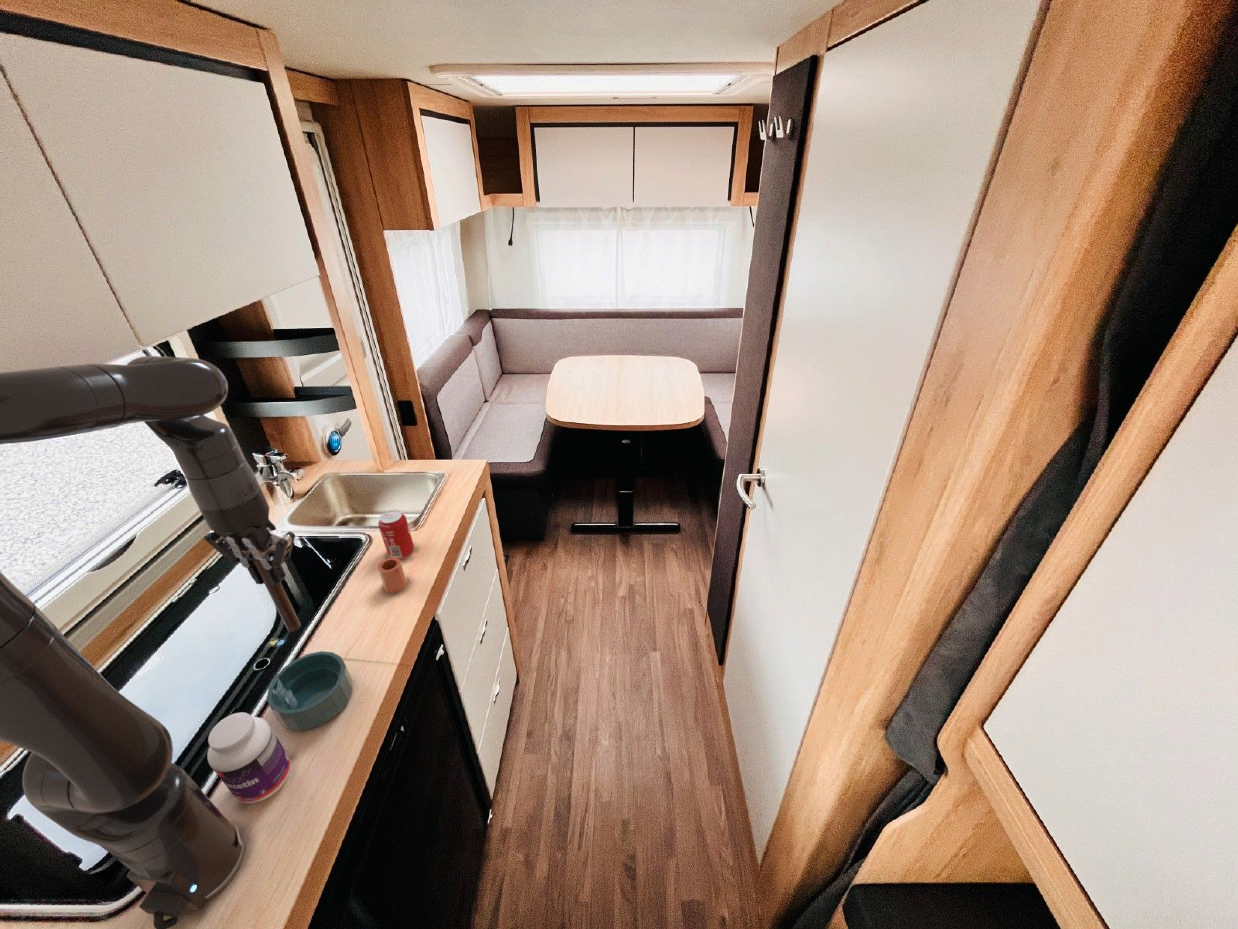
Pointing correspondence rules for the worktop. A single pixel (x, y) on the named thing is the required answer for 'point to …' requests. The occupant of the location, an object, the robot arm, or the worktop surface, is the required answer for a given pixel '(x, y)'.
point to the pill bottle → (248, 757)
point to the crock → (392, 575)
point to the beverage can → (396, 534)
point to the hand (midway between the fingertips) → (271, 580)
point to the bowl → (310, 690)
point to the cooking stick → (279, 600)
